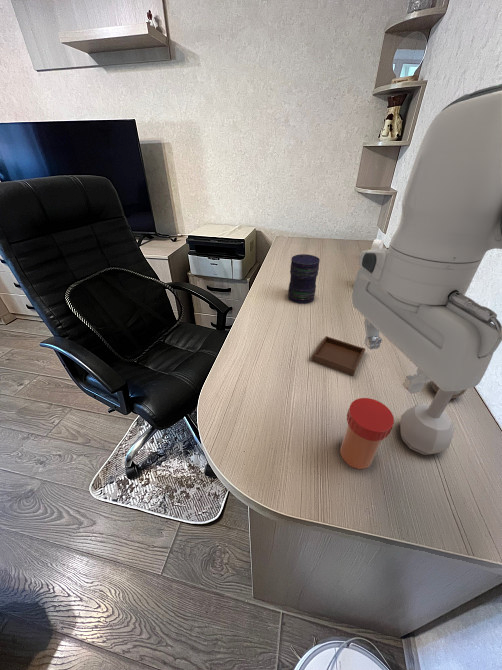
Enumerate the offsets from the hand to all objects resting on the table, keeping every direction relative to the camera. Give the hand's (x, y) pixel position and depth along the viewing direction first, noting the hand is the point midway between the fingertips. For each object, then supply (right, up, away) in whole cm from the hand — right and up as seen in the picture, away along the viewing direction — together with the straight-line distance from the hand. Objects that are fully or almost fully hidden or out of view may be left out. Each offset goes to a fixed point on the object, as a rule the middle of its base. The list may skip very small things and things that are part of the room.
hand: (389, 365), depth 40 cm
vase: (+25, -9, +26) cm, 37 cm away
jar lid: (0, -9, +6) cm, 11 cm away
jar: (0, -18, +13) cm, 22 cm away
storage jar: (-1, +18, +65) cm, 67 cm away
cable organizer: (+41, +41, +97) cm, 113 cm away
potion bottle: (+13, -16, +15) cm, 26 cm away
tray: (+4, -2, +36) cm, 36 cm away
